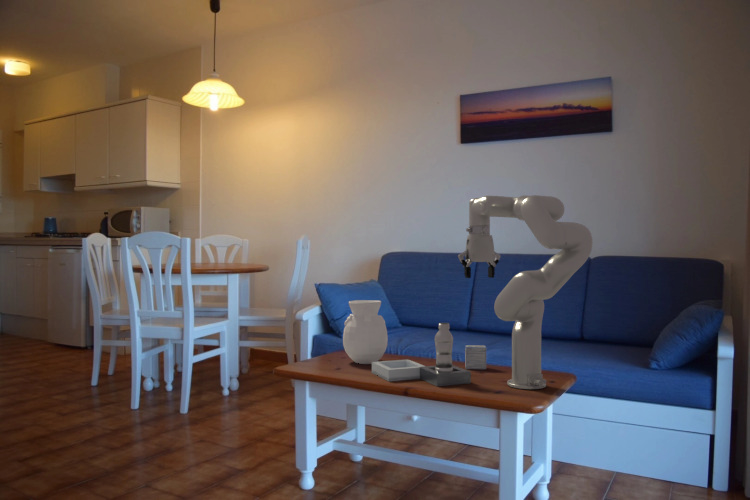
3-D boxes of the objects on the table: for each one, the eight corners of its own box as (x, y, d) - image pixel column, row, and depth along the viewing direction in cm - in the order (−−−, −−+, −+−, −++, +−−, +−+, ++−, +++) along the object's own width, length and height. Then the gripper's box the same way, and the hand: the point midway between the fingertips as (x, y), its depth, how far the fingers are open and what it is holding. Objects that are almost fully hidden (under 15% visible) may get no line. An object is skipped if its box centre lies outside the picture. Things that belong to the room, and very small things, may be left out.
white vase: (342, 358, 246) (342, 299, 246) (385, 357, 247) (385, 299, 247) (343, 366, 227) (343, 303, 227) (390, 366, 229) (390, 302, 229)
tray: (427, 378, 206) (427, 366, 206) (388, 381, 201) (388, 369, 201) (408, 369, 221) (408, 359, 221) (371, 372, 216) (371, 362, 216)
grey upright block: (485, 367, 226) (485, 345, 226) (486, 369, 222) (486, 347, 222) (465, 367, 227) (465, 345, 227) (465, 369, 222) (465, 346, 222)
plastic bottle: (455, 382, 199) (454, 324, 199) (435, 382, 199) (435, 324, 199) (452, 378, 205) (452, 322, 205) (433, 378, 205) (433, 322, 206)
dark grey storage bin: (470, 383, 198) (470, 371, 198) (437, 386, 193) (437, 374, 193) (450, 375, 211) (450, 364, 211) (418, 378, 206) (418, 366, 206)
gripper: (463, 230, 208) (463, 278, 208) (505, 231, 214) (505, 277, 214) (453, 231, 215) (453, 277, 215) (494, 232, 221) (494, 277, 221)
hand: (479, 277), depth 214 cm, fingers open, 9 cm apart
